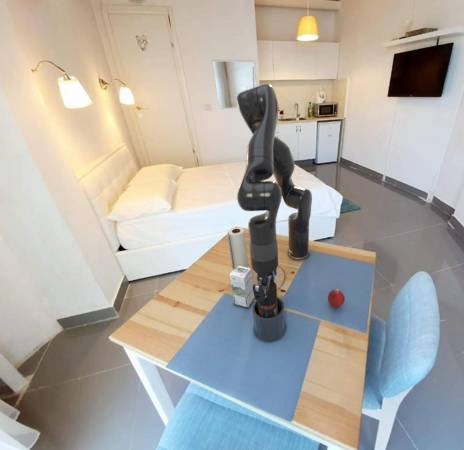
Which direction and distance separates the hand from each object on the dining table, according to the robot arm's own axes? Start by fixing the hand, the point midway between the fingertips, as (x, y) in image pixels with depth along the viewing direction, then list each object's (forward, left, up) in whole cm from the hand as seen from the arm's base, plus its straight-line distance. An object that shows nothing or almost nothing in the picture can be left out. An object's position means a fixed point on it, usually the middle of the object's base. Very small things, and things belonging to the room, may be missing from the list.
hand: (267, 297), depth 76 cm
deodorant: (0, 0, -11) cm, 11 cm away
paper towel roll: (-23, -21, -14) cm, 34 cm away
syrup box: (-9, -13, -14) cm, 21 cm away
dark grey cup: (0, 0, -14) cm, 14 cm away
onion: (-15, +20, -14) cm, 29 cm away
